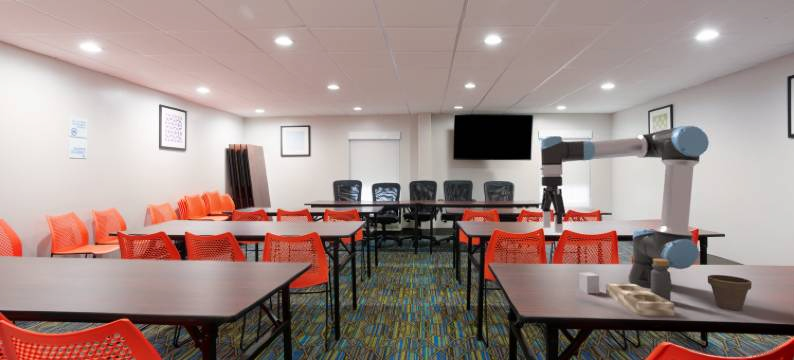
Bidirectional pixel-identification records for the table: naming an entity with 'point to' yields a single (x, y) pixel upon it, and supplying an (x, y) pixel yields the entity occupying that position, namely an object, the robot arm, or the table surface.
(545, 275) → the table surface
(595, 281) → the square bit
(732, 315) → the table surface
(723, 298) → the flower pot
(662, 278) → the bottle
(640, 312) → the bore block
